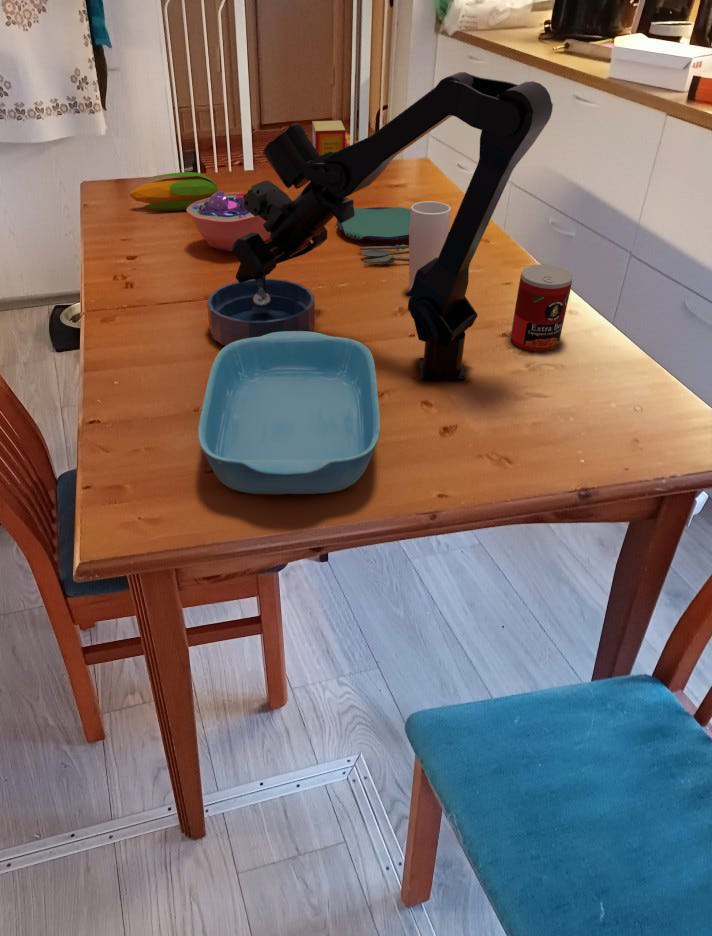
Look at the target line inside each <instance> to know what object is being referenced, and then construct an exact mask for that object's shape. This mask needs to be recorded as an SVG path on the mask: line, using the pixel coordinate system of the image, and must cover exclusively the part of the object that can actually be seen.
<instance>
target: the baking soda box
mask: <svg viewBox="0 0 712 936" xmlns="http://www.w3.org/2000/svg"><path fill="white" fill-rule="evenodd" d="M311 129H312V130H311V132H312V134H311V136H312V141H311V143H312V145H313V146H314V148H315V149H316V150H317V152H318V153H319V155H320V156H321V155H323V154H326V153H328V152H337V151H339V150H342V149H344V148H346V128H345V126H344V123H343V122H342V120H341V119H336V120H334V119H333V120H312V121H311Z"/></svg>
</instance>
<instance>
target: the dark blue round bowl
mask: <svg viewBox="0 0 712 936" xmlns="http://www.w3.org/2000/svg"><path fill="white" fill-rule="evenodd" d="M256 293H257V291H256V280H255V279H253V280H249V281H245V282H241V283H239V282H238V281H235V282H230V283H227V284H225V285H223V286H221V287H219V288H217V289H214V291H213V292H212V293H211V294H210V295H209V296H208V298H207V302H206V306H207V316H208V324H209V325H208V326H209V333H210V334H211V338H212V339H213V340H214V341H216V342H217V343H219V344H220V345H222V346H224V347H225V346H227V345H228V344H230V343H232V342H235V341H238V340H241V339H246V338H253V337H261V336H263V335H266V334H269V333H274V332H284V331H309V332H315V327H316V326H315V325H316V323H315V322H316V321H315V320H316V319H315V317H316V316H315V315H316V313H315V310H316V309H315V305H316V303H315V295H314V293H313V292H312V291H311V290H310V288H307V287H306V286H305V285H303V284H300V283H297V282H294V281H291V280H286V279H278V278H266V293H268V294H269V295H270V296H271V297H272V299H273V308H272V310H271V311H270V312H269V313H268V314H266V315H258V314H256V313H255V312H254V311H253V310H252V308H251V299H252V297H253V295H254V294H256Z"/></svg>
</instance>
